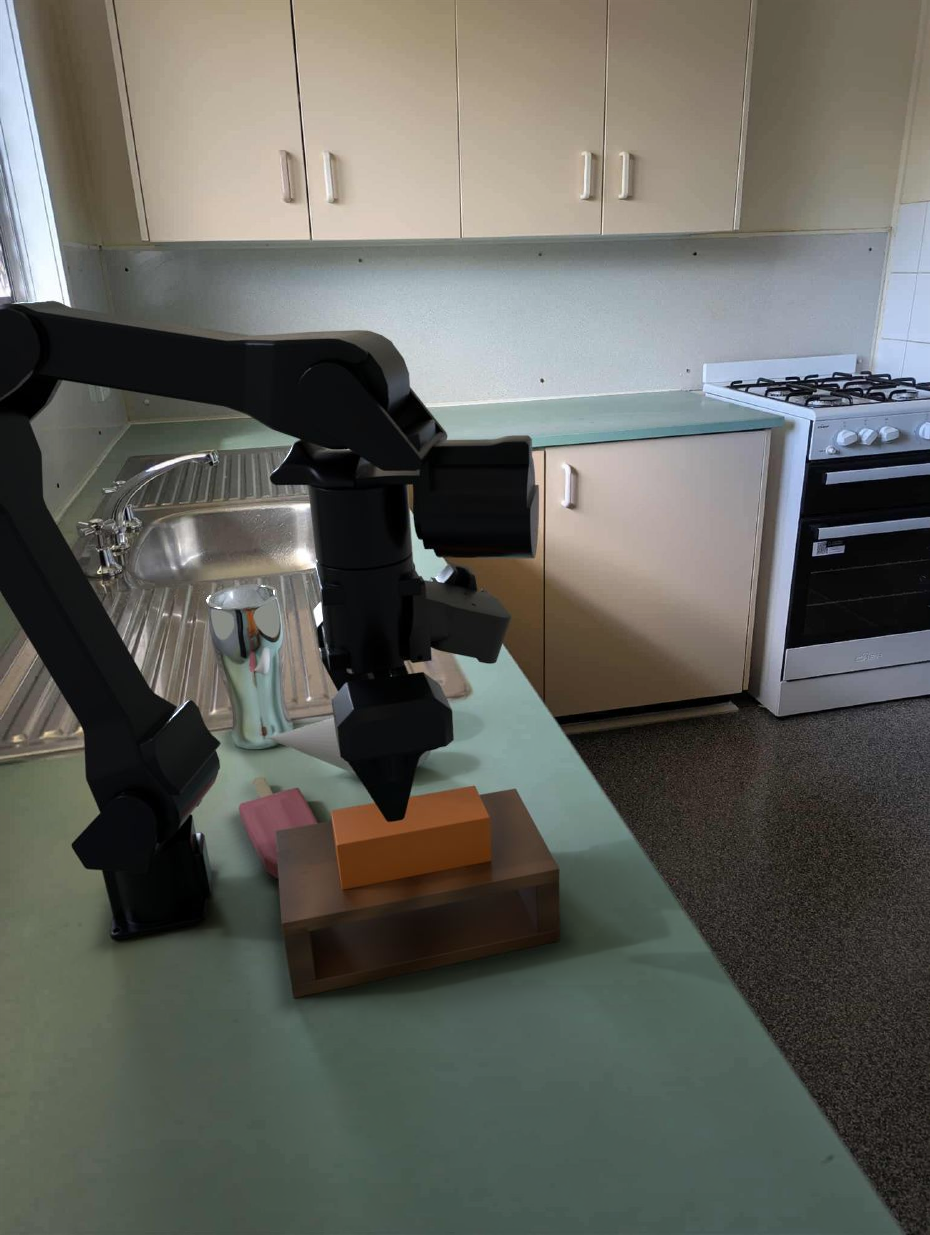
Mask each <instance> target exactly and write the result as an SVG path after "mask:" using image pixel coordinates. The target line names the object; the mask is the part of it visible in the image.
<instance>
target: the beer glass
mask: <svg viewBox="0 0 930 1235" xmlns="http://www.w3.org/2000/svg"><path fill="white" fill-rule="evenodd" d="M206 604H207V612H208V613H207V615H208V616H207V617H208V627H209V628H208V629H209V635H210V643H211V647H212V648H211V649H212V652H213V657H214V660H215V663H216V666H217V669H218V672H219V674H220V677H221V680H222V682H223V686H224V688H225V691H226V693H227V697H228V699H229V703H230V707H231V714H232V723H231V724H232V726H231V739H232V742H233V743H234V744H235V745H236V746H237V747H239V748H241V749H245V750H264V749H270V748H273V747H276V746H278V745H281V744H280V743H278V742H276V741H273V740H271V739H268V738H267V737H271V736H274V735H277V734H280V733H284V732H287V731H290V730H294V729H295V728H294V724H293V720H292V718H291V715H290V712H289V709H288V706H287V700H286V670H287V639H286V638H287V637H286V628H285V624H284V618H283V614H282V613H283V612H282V609H281V605H280V600H279V595H278V590H277V589H276V588H275V587H274V586H270V585H266V584H259V583H257V584H256V583H255V584H253V583H251V584H240V585H234V586H230V587H226V588H222V589H220V590H217V591H215V592H213V593H212V594H210V595H209V596H208V597H207V599H206Z"/></svg>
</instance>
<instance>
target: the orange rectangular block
mask: <svg viewBox="0 0 930 1235" xmlns="http://www.w3.org/2000/svg"><path fill="white" fill-rule="evenodd" d="M479 795H480V793H479V791H478V789H477V787H476V785H469V786H463V787H458V788H452V789H447V790H440V791H435V792H430V793H422V794H418V795H412V796H411V795H410V797H409V801H408V806H407V810H406V814H405V818H404V819H403V820H399V821H394V822H387V821H386V819H385V818H384V816H383V815H382V813H381V812H380V810H379V808H378V807H377V805H376V804H375V802H372V803H365V804H360V805H355V806H349V807H344V808H338V809H332V810H330V816H331V817H330V818H331V821H332V825H333V833H334V841H335V849H336V856H337V862H338V868H339V874H340V880H341V886H342V890H344V889H349V888H355V887H360V886H365V885H370V884H375V883H380V882H386V881H391V880H396V879H401V878H406V877H411V876H417V875H422V874H427V873H432V872H437V871H442V870H448V869H453V868H458V867H463V866H468V865H474V864H479V863H484V862H489V861H491V860H492V857H491V835H490V817H489V815H488V813H487V811H486V808H485V806H484V804H483V802H482V800H481V798H480V796H479Z"/></svg>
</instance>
